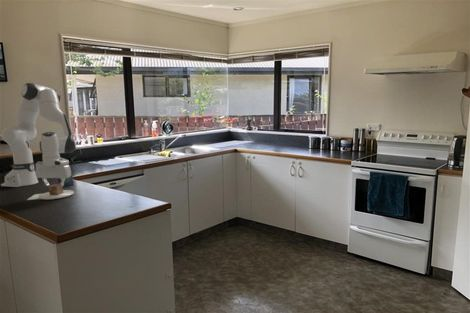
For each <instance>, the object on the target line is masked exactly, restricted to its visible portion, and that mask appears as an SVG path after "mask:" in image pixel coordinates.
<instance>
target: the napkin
mask: <svg viewBox="0 0 470 313" xmlns="http://www.w3.org/2000/svg"><path fill="white" fill-rule="evenodd" d="M41 194H42V193H34V194H33V195H32V196H29V198H27V199H26V200H27V201H33V200H35V201H36V200H41V199H40V198H39V195H41Z"/></svg>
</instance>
